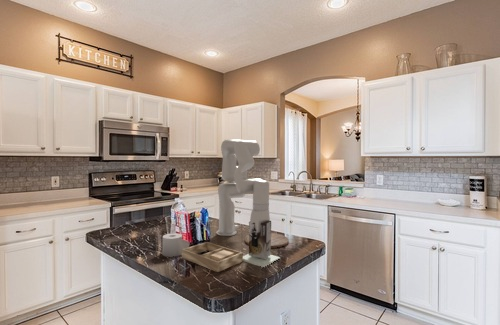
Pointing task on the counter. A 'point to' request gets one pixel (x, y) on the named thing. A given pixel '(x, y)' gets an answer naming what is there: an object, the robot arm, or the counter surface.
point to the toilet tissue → (173, 244)
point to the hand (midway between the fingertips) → (259, 244)
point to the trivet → (274, 240)
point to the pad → (260, 260)
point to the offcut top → (221, 255)
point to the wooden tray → (205, 260)
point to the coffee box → (261, 241)
